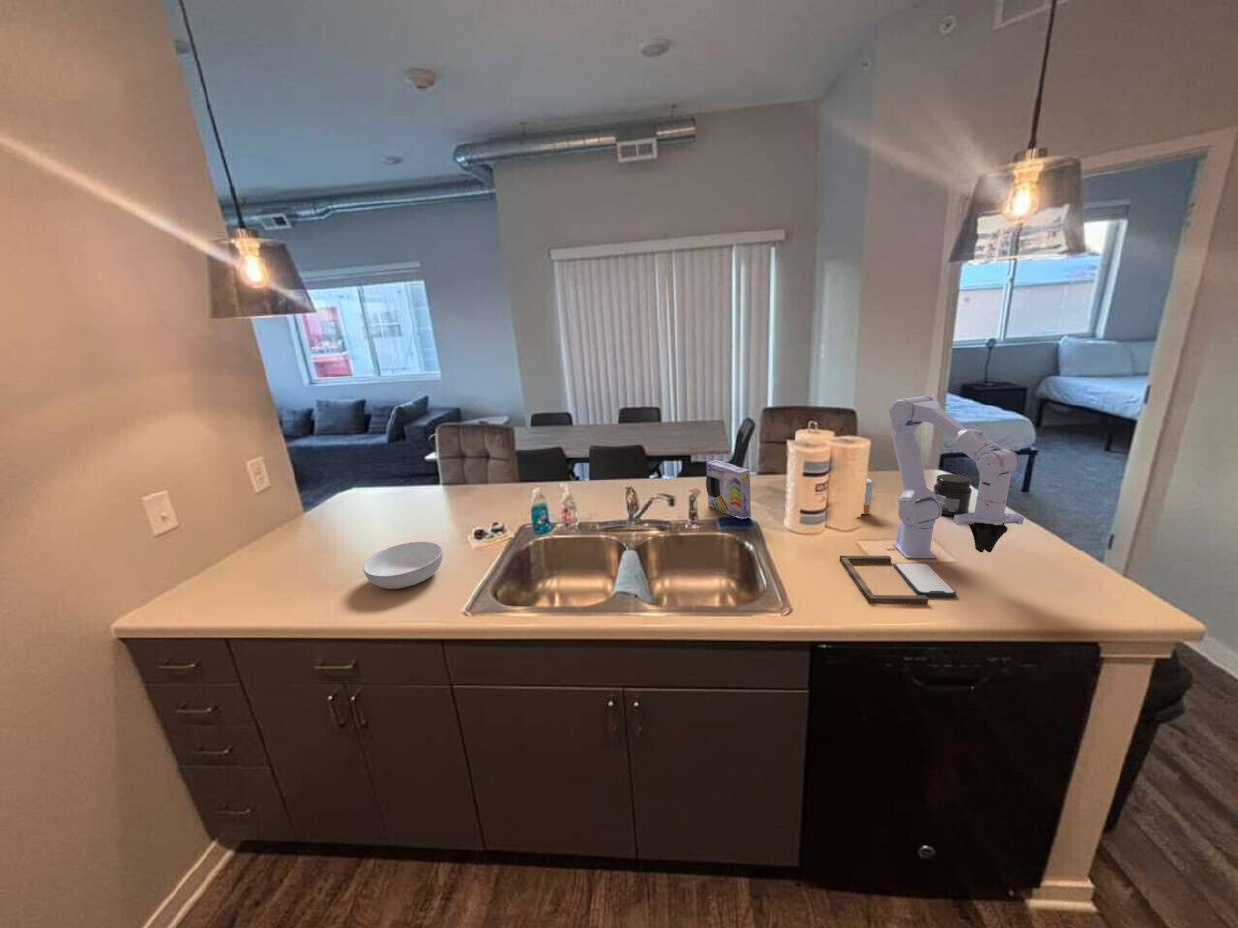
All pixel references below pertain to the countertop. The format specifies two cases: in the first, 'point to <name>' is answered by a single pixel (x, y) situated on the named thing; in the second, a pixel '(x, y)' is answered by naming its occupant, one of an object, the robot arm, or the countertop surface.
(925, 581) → the dark grey smartphone
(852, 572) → the walnut frame
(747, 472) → the cake pan box
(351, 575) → the countertop surface
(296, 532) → the countertop surface
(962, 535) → the countertop surface
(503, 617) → the countertop surface
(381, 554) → the serving bowl
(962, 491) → the supplement container
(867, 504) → the skincare box
